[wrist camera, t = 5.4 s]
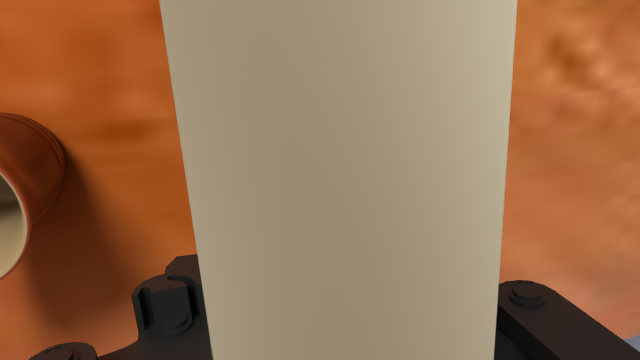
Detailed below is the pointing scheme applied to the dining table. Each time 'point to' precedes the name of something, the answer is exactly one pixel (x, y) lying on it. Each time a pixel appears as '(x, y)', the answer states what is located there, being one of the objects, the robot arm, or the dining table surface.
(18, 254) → the mug
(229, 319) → the birch board
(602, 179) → the dining table surface
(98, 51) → the dining table surface
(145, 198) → the dining table surface
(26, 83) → the dining table surface
